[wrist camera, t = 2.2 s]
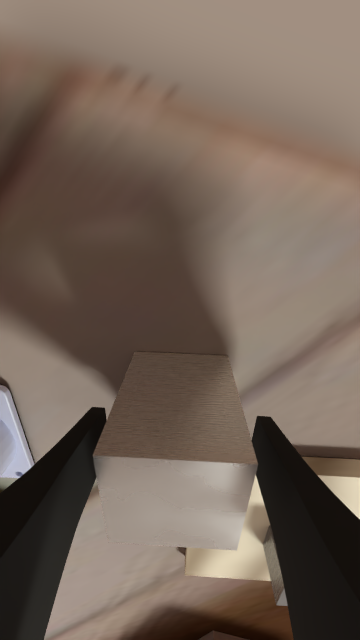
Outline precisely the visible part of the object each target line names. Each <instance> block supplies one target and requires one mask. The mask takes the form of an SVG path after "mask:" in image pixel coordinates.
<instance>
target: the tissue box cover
mask: <svg viewBox="0 0 360 640" xmlns="http://www.w3.org/2000/svg"><path fill="white" fill-rule="evenodd" d="M198 640H248V639H244V638H240V637H236V636H233V635H229V634H225V633H221V632H217V631H214V630H213V631H211V632H210V633H208V634H206V635H205V636H203V637H202V638H200V639H198Z"/></svg>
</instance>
